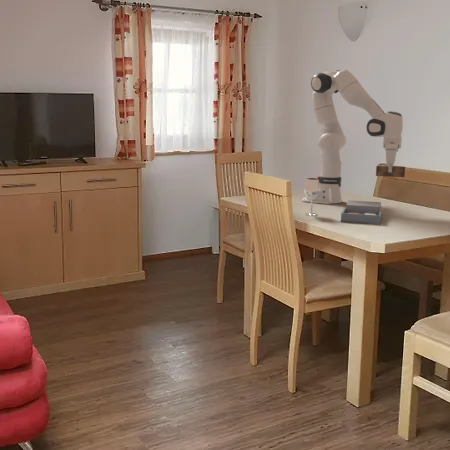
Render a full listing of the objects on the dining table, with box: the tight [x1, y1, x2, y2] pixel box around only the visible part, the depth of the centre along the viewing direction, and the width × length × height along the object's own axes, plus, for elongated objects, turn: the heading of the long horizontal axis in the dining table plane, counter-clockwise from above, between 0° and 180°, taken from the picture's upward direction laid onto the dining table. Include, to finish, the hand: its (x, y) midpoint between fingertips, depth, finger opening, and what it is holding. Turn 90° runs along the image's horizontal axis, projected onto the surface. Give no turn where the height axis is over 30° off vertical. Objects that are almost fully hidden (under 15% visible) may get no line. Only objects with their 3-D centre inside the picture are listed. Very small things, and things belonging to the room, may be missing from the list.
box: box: [340, 208, 383, 225], centre depth 292 cm, size 18×13×4 cm
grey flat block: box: [345, 199, 382, 211], centre depth 304 cm, size 16×14×6 cm
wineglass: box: [303, 177, 321, 217], centre depth 303 cm, size 8×8×18 cm
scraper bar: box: [375, 165, 406, 178], centre depth 310 cm, size 14×3×5 cm, turn 73°
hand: (390, 171), depth 310 cm, fingers closed on scraper bar, 3 cm apart
